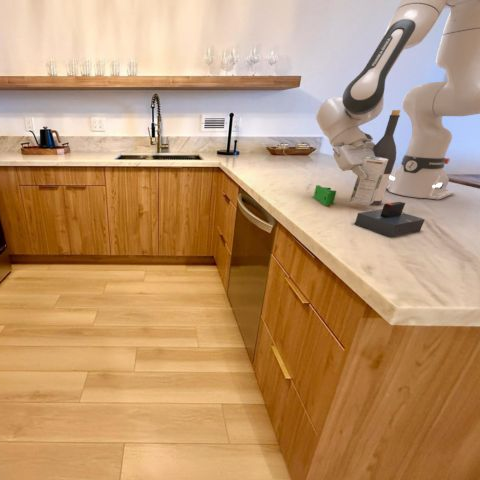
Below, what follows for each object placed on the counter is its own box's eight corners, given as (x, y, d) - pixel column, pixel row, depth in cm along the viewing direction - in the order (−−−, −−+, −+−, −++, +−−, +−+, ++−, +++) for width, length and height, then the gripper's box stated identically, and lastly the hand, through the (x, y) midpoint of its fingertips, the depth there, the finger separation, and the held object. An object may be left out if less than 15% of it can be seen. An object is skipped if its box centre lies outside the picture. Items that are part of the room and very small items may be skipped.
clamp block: (382, 219, 86) (386, 207, 85) (420, 231, 78) (425, 218, 76) (354, 224, 82) (357, 212, 81) (390, 237, 74) (395, 224, 72)
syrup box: (353, 199, 99) (366, 156, 93) (374, 202, 95) (389, 158, 89) (349, 202, 95) (362, 157, 89) (370, 206, 91) (385, 160, 85)
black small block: (394, 213, 80) (399, 200, 79) (400, 215, 79) (405, 202, 77) (380, 216, 78) (384, 202, 77) (386, 217, 77) (390, 204, 75)
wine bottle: (384, 206, 98) (417, 110, 85) (356, 203, 100) (385, 110, 88) (377, 200, 104) (407, 110, 92) (352, 197, 107) (377, 110, 95)
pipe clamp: (336, 206, 98) (340, 193, 96) (325, 206, 98) (328, 193, 96) (323, 197, 108) (326, 185, 106) (313, 196, 108) (316, 184, 106)
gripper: (339, 137, 87) (364, 175, 84) (373, 135, 97) (396, 169, 93) (322, 151, 93) (344, 187, 89) (356, 147, 102) (377, 180, 99)
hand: (371, 177), depth 91 cm, fingers closed on syrup box, 6 cm apart
